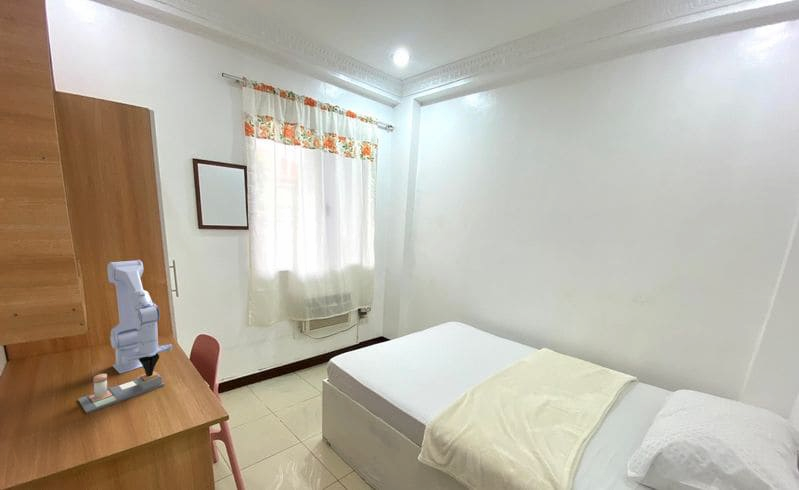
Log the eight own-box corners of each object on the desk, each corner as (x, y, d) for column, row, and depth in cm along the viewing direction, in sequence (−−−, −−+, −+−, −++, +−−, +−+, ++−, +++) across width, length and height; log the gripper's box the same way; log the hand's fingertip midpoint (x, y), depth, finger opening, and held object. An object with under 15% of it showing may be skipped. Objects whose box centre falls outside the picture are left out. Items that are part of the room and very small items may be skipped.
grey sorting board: (77, 400, 106) (77, 390, 106) (153, 375, 123) (153, 366, 123) (86, 413, 100) (85, 403, 100) (164, 385, 117) (164, 376, 117)
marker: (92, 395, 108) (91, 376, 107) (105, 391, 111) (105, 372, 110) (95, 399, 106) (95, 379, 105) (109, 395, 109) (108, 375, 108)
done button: (141, 381, 116) (140, 375, 115) (153, 377, 119) (153, 371, 118) (144, 384, 113) (144, 378, 113) (157, 380, 117) (157, 374, 116)
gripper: (125, 349, 106) (127, 387, 108) (175, 336, 118) (176, 370, 120) (119, 343, 110) (121, 380, 112) (167, 331, 122) (168, 364, 123)
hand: (149, 374), depth 116 cm, fingers closed
